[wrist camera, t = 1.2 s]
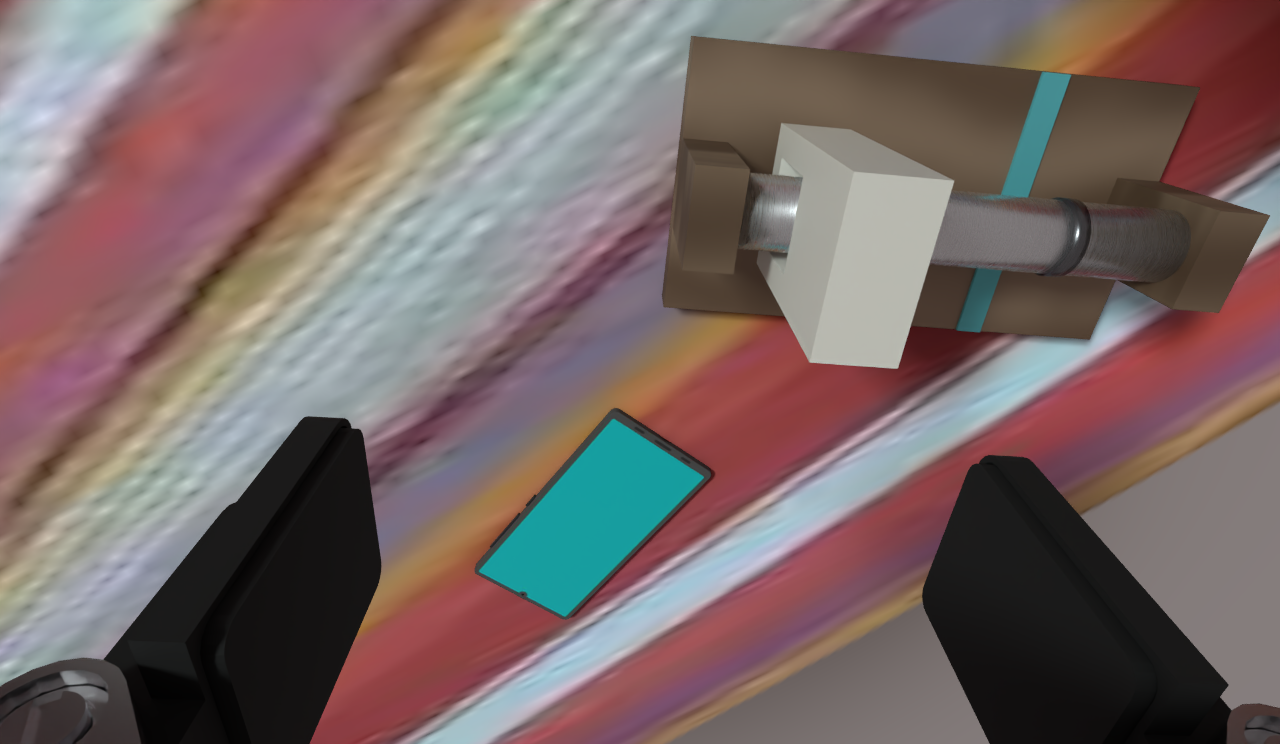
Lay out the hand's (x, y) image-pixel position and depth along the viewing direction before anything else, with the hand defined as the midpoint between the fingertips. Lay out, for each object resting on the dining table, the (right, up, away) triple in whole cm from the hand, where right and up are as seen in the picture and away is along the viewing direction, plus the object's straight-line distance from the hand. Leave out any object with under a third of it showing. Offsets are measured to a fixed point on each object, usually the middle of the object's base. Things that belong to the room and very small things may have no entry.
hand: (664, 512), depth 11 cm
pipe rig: (+12, +11, +22) cm, 27 cm away
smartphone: (-4, -7, +31) cm, 32 cm away
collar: (+7, +10, +19) cm, 23 cm away
